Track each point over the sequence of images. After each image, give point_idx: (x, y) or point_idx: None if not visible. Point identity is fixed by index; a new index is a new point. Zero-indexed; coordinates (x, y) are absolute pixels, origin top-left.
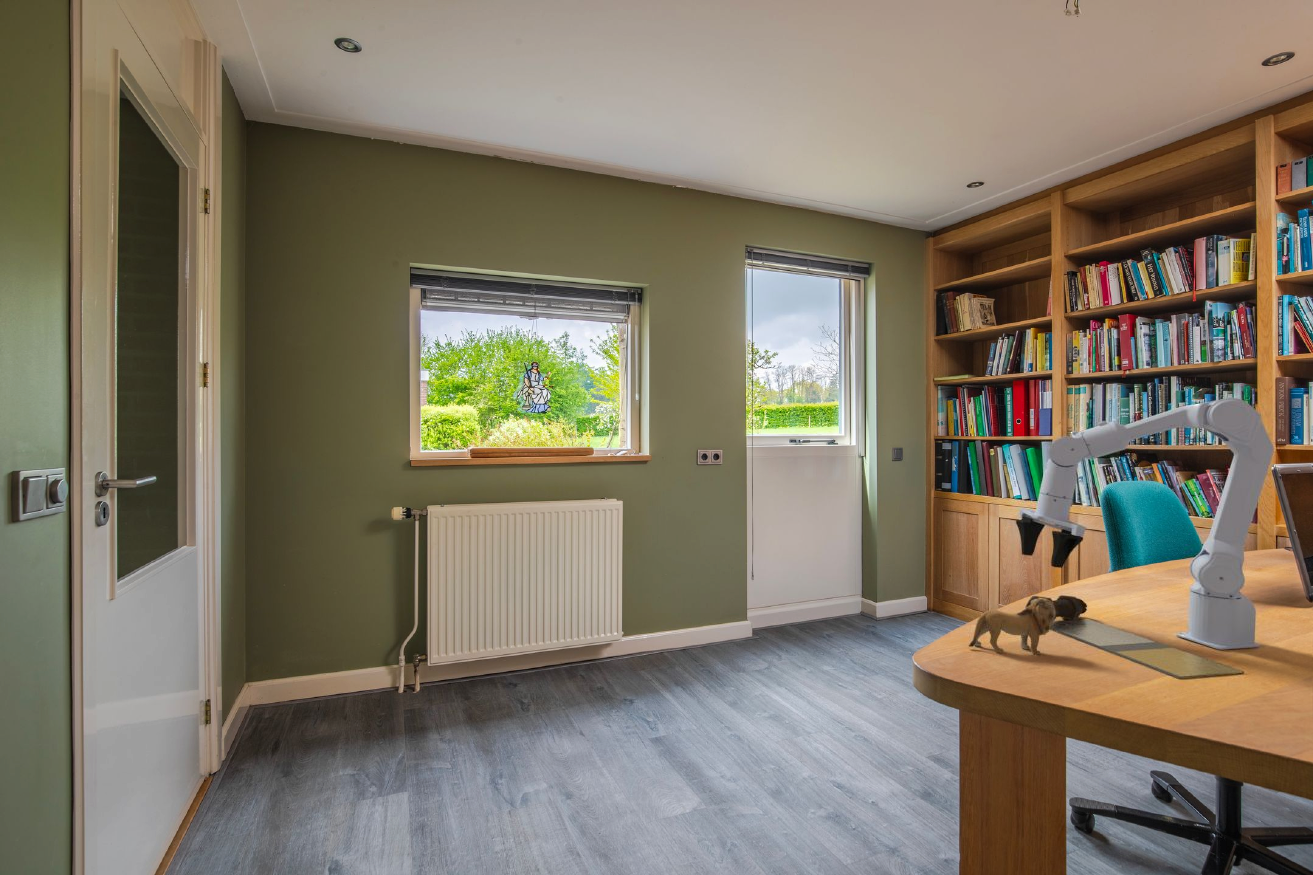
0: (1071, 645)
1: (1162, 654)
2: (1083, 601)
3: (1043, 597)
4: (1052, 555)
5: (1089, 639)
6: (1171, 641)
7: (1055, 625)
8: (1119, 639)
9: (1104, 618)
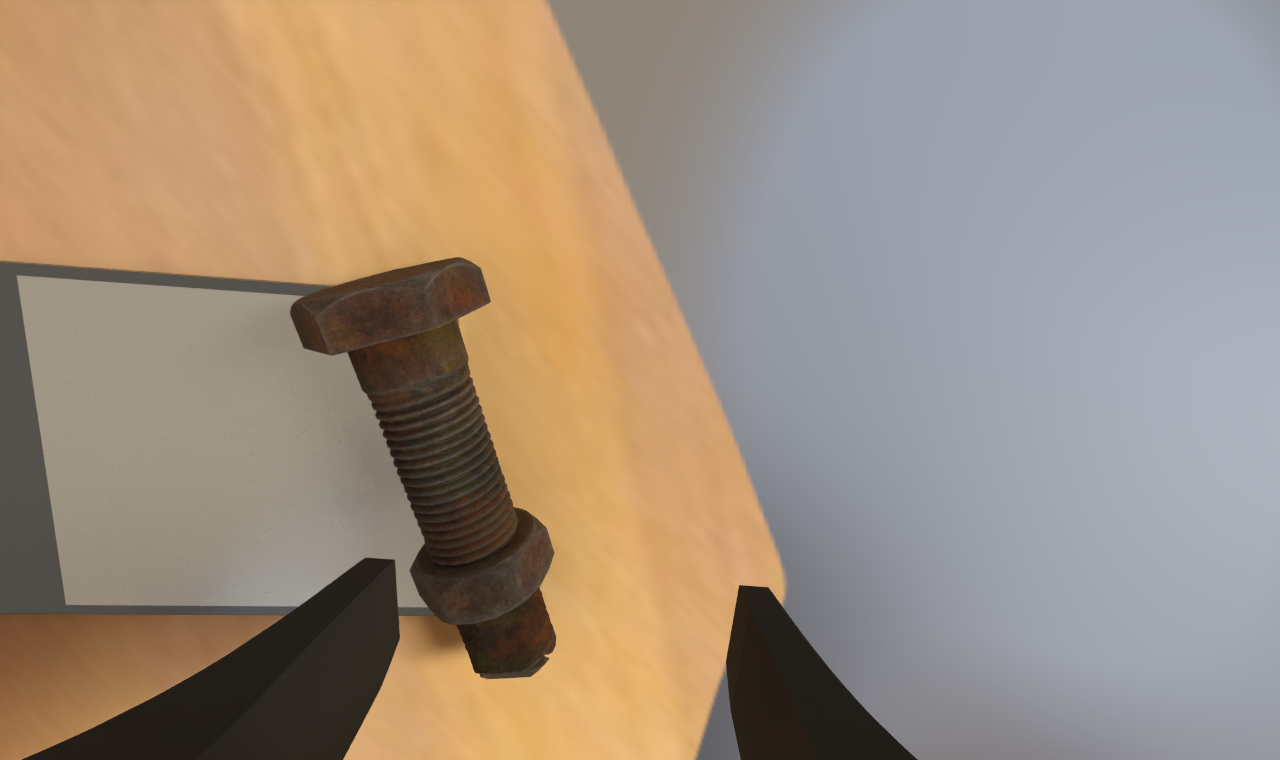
0: (75, 153)
1: None
2: (481, 671)
3: (363, 324)
4: (329, 614)
5: (131, 320)
6: (106, 696)
7: None
8: (117, 472)
9: (468, 702)
